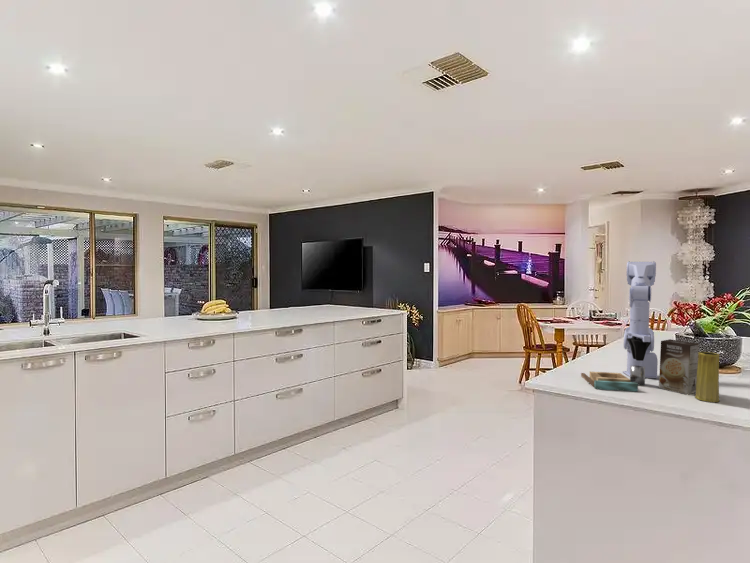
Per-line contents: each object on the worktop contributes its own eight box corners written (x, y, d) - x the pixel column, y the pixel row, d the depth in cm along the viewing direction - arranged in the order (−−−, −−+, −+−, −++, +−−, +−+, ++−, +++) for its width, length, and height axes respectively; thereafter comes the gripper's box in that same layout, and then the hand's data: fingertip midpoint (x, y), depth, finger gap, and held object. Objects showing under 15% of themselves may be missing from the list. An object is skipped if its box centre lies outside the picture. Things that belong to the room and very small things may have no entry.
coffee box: (657, 388, 153) (659, 340, 153) (667, 385, 157) (668, 339, 156) (688, 395, 145) (689, 344, 145) (697, 392, 149) (699, 343, 148)
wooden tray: (619, 381, 161) (620, 373, 161) (630, 388, 152) (630, 379, 152) (589, 379, 163) (589, 371, 163) (597, 387, 153) (597, 378, 153)
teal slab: (618, 378, 167) (618, 371, 167) (637, 391, 149) (637, 383, 149) (581, 376, 169) (581, 369, 169) (595, 388, 151) (595, 381, 151)
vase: (723, 403, 137) (725, 355, 136) (700, 401, 138) (702, 354, 138) (713, 397, 143) (714, 351, 142) (691, 396, 144) (692, 350, 144)
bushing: (641, 382, 161) (641, 365, 161) (647, 385, 156) (647, 367, 156) (627, 382, 161) (628, 364, 161) (633, 384, 157) (633, 367, 157)
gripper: (619, 317, 166) (618, 355, 166) (634, 322, 152) (633, 363, 152) (640, 318, 165) (639, 356, 165) (657, 323, 150) (656, 364, 151)
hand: (638, 359), depth 158 cm, fingers closed
